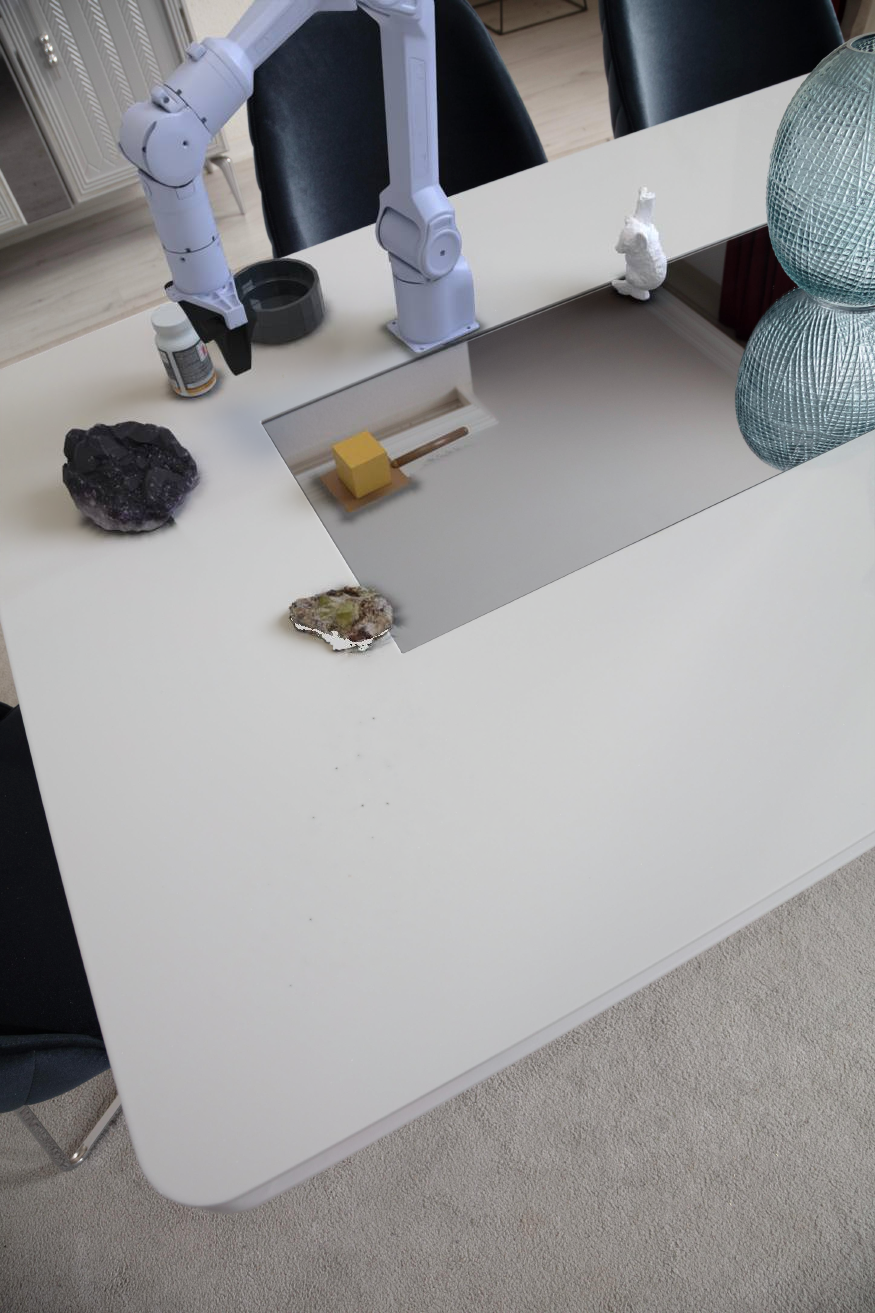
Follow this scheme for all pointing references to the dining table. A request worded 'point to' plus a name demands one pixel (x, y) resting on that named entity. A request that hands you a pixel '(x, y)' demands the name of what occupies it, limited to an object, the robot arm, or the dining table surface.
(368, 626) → the mineral rock
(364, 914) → the dining table surface
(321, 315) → the grey round bowl
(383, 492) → the wooden spatula
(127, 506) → the crystal cluster
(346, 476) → the yellow cube block
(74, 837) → the dining table surface
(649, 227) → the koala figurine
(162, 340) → the pill bottle
